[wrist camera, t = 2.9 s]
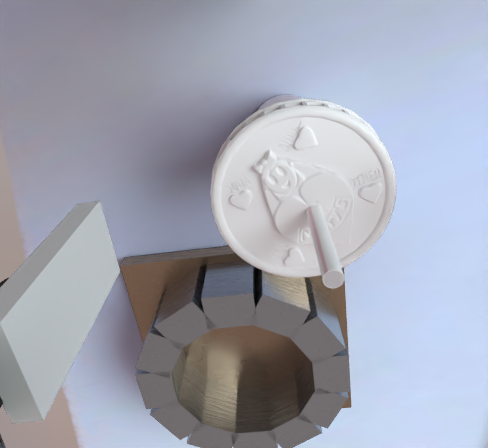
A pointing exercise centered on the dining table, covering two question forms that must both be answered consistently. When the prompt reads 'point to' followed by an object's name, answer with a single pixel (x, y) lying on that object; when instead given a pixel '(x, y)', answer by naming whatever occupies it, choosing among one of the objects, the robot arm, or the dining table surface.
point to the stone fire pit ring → (237, 349)
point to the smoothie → (302, 188)
